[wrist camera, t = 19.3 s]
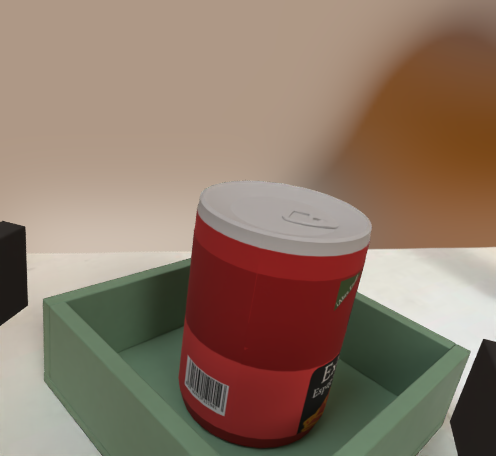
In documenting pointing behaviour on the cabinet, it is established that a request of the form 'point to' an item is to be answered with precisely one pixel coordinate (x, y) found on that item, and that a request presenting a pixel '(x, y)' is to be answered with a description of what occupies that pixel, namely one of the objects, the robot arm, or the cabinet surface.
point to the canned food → (267, 308)
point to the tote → (168, 363)
